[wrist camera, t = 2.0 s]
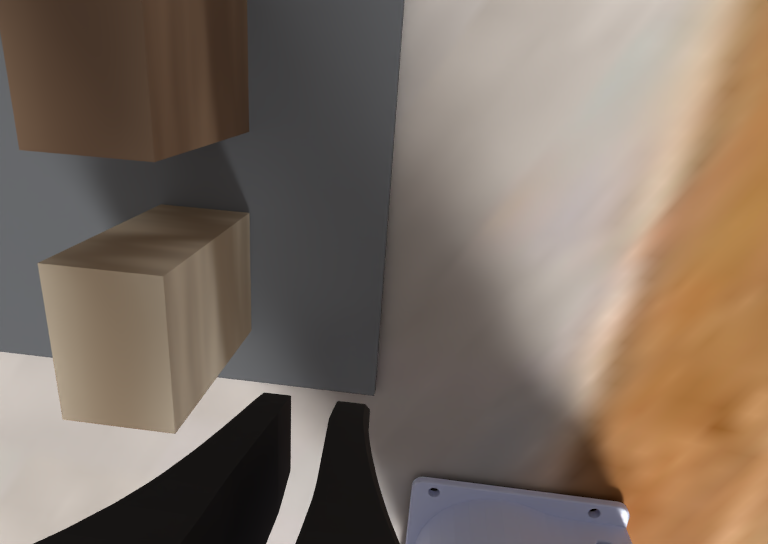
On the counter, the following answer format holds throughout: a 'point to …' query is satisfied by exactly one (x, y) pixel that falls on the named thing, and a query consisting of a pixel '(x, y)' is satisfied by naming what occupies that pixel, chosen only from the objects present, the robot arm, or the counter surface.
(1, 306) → the mat
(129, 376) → the beech block
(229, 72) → the walnut block
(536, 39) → the counter surface
